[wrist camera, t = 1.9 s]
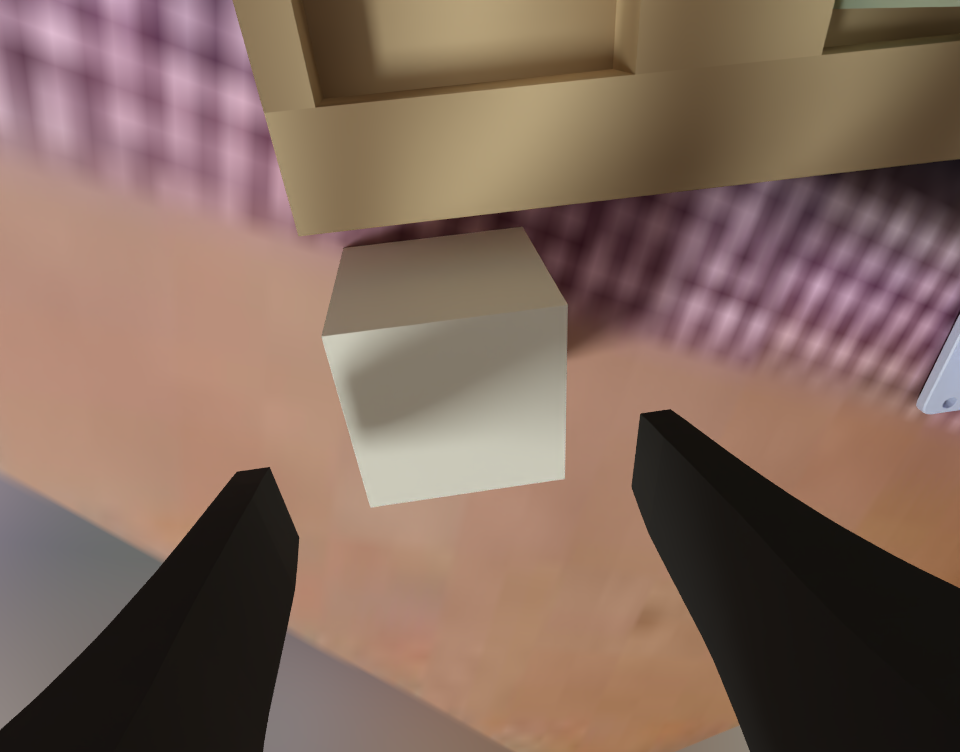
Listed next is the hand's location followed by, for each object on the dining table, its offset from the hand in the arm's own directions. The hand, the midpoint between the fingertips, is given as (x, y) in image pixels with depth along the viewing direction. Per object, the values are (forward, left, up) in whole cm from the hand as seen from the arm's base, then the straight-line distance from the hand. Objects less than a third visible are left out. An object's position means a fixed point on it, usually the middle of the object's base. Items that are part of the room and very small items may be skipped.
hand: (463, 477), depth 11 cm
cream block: (0, 0, -7) cm, 7 cm away
